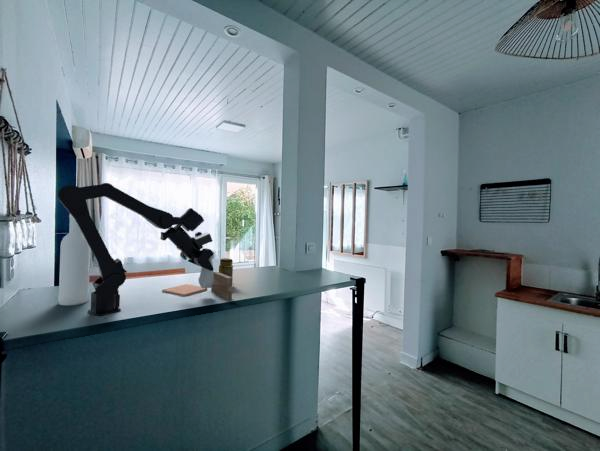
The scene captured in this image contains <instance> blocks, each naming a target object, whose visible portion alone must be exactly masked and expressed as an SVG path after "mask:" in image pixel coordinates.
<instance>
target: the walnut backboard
mask: <svg viewBox="0 0 600 451" xmlns="http://www.w3.org/2000/svg"><path fill="white" fill-rule="evenodd" d="M214 279H215V281H214V283H213V286H212V287H211V289H210V292H212V293H214V294H215V295H218V296H220V297H221V298H223V299H225V300H232V299H233V297H232V296H233V288H232V284H233V279H234V277H233V276H232V277H230V276H227V275H224V274H222V273H219V271H214Z"/></svg>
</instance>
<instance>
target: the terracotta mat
mask: <svg viewBox="0 0 600 451" xmlns="http://www.w3.org/2000/svg"><path fill="white" fill-rule="evenodd" d="M161 291H162V293H166V294H171V295H175V296H180V297H187V296H191V295H194V294H198V293H201V292H205V291H208V288H201V286H200V285H199V286H198V285H194V284H187V283H185V284H181V285H177V286H173V287H168V288H164V289H162V290H161Z"/></svg>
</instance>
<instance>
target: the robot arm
mask: <svg viewBox="0 0 600 451" xmlns="http://www.w3.org/2000/svg"><path fill="white" fill-rule="evenodd" d="M102 197H104V198H106V199H108V200H110V201H112V202H113V203H116V204H118V205H119V206H122V207H124V208H125V209H128V210H130V211H131V212H133V213H135V214H137V215H140V216H141V217H142V218H143V219H145V220H146V221H147V222H148V223H150V224H151V225H152V226H154V228H157V229H160V230H166V231H161V232H160V240H161V241H167V239H169V241H170V242H172V243H173V245H174V246H175V248H176V250H179V251H180V254H179V255H180V258H182V260H184V261H186V260H187V258H188V261H187V262H188V263H192V264H193V265H195V266H198V267H201V268H202V267H203V268H205V269H208V270H210V271H214V266H213V267H212V265H211V263H210V261H209V258H210V257H211V256H212V255H213V254H214V251H213V250H212V249H210V248H204V245H207V244H208V243H212V242H213V239H212V235H211V233H209V232H201V231H197V232H195V234H194V236H190V235H189V233H188V232H189V231H190V232H194V231H195V230H196V229H197V228H198V227H199V226H200V225H201V224H203V223H204V222H205V219H204V217H203V216H202V214H200V213H198V212H197V211H196V210H194V209H193V208H191V207H189V208H188V209H186V211H185V212H184V213H183V214H182V215H180V216H174V215H173V214H172V213H170V212H168V211H164V210H162V209H159V208H156V207H154V206H153V207H152V206H150V205H149V204H146V203H144V202H142V201H141V200H138V199H137V198H135V197H134V196H131V195H130V194H127V193H126V192H125V191H122V190H120V189H118V188H117V187H115V186H114V185H112V184H111V183H109V182H104V183H103V182H102V183H100V184H93V185H87V186H86V185H85V186H80V187H79V186H76V185H72V184H70V185H69V184H67V185H64V186H62V187H61V188H60V189H59V190H58V192H57V198H58V201H59V203H61V204H62V205H63V207H64V208H65V209H66V210H67V212H68V213H69V215H70V214H71V215H72V216H73V217H74V219H75V220H76V222H77V224H78V226H79V228H80V230H81V232H82V233H83V235H84V237H85V239H86V241H87V243H88V245H89V247H90V251H92V254H93V256H94V258H95V260H96V264H97V267H98V272H99V275H100V276H99V277H98V278H97V279H96V280H95V281H94V282H92V286H93V289H94V290H95V291H91V292H90V309H88V310H87V313H90V314H92V315H94V316H97V317H99V316H104V315H107V314H111V313H112V314H113V313H115V312H121V311H122V308H120V304H121V302H120V301H121V295H120V294H119V288H120V287H121V286H122V285H124V283H125V281H126V279H127V276H126V273H128V271H127V270H126V269H125V268H124V266H123V263H122V260H121V259H120V258H116V259H114V258H113V257H112V255H111V253H110V251H109V250H108V247H107V246H106V244H105V242H104V240H103V239H102V236H101V234H100V232H99V230H98V229H97V226H96V224H95V222H94V220H93V219H92V216H91V215H90V211H89V206H88V203H87V200H92V199H98V198H102ZM173 226H174V227H173ZM214 255H215V254H214Z"/></svg>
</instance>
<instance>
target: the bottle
mask: <svg viewBox="0 0 600 451" xmlns="http://www.w3.org/2000/svg"><path fill="white" fill-rule="evenodd" d="M68 218H69V224H68V225H69V231H68V232H69V233H67V234H66V235H65V236H63V237H62V240H61V242H60V250H59V251H60V252H59V253H60V254H59V277H58V278H59V281H58V282H59V283H58V285H59V286H58V296H57V299H58V304H59V305H60V306H66V307H69V306H78V305H81V304H82V305H83V304H85V303H86V304H87V302H88V301H89V296H90V269H91V268H90V267H91V266H90V264H91V263H90V262H91V248H90V247H89V245H88V243H87V241H86V239H85V237H84V235H83V233H82V232H81V230H80V228H79V226H78V224H77V222H76V220H75V219H74V217H73V216H72V215H71V214H70V213H69V215H68Z"/></svg>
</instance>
